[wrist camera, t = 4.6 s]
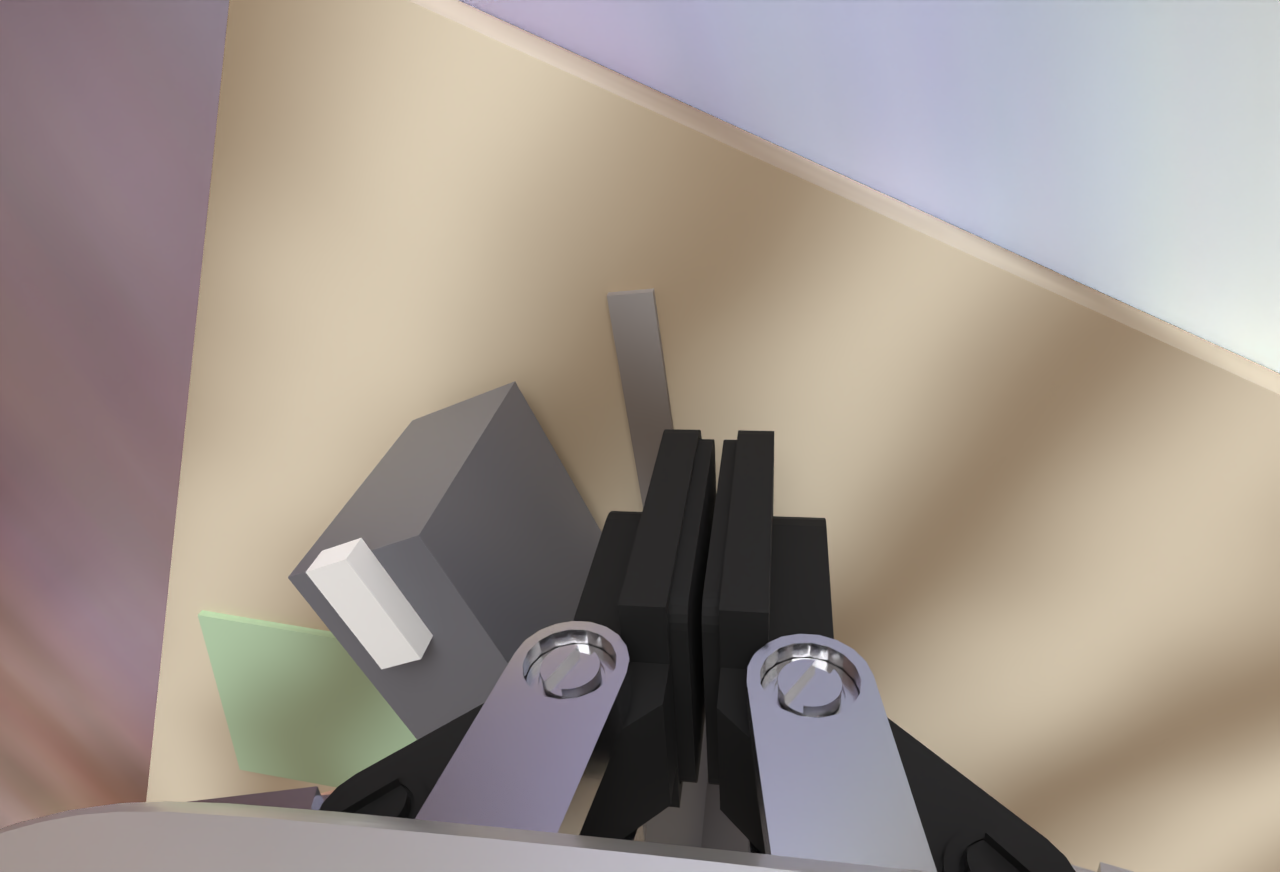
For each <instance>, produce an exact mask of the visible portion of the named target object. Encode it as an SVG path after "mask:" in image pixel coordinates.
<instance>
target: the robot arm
mask: <svg viewBox="0 0 1280 872" xmlns="http://www.w3.org/2000/svg"><path fill="white" fill-rule="evenodd" d="M773 503H774V431H747V430H738V436H737V440H724V441H723V448H722V456H721V463H720V471H719V478H718V486H717V493H716V464H715V441H714V439H702V436H701V431H700V430H681V429H665V430H664V432H663V435H662V439H661V443H660V447H659V450H658V454H657V458H656V462H655V466H654V469H653V473H652V477H651V481H650V485H649V488H648V492H647V496H646V500H645V503H644V507H643V511H642V512H631V511H611V512H609V514H608V516H607V518H606V521H605V524H604V527H603V530H602V533H601V536H600V540H599V543H598V546H597V549H596V552H595V555H594V558H593V561H592V564H591V567H590V570H589V573H588V576H587V580H586V583H585V586H584V589H583V592H582V595H581V598H580V601H579V604H578V607H577V610H576V613H575V617H574V620H573V621H570V622H564V623H558V624H554V625H552V626H549V627H547V628H544V629H542V630H539V631H538V632H536V633H535V634H533V635H532V636H530V637H529V638H528V639H526V640H525V641H524V642H523V643H522V645H521V646H520V647H519V648H518V649H517V650H516V652H515V653H514V655H513V656H512V658H511V660H510V661H509V663H508V665H507V666H506V668H505V670H504V671H503V673H502V675H501V676H500V678H499V680H498V681H497V683H496V685H495V686H494V688H493V690H492V691H491V693H490V695H489V696H488V698H487V700H486V701H485V703H483V704H481V705H479V706H477V707H476V708H474V709H472V710H470V711H468V712H467V713H465V714H463V715H461V716H459V717H458V718H456V719H454V720H452V721H450V722H449V723H447V724H445V725H443V726H441V727H440V728H438V729H436V730H434V731H432V732H431V733H429V734H427V735H425V736H423V737H422V738H420V739H418V740H416V741H414V742H413V743H411V744H409V745H407V746H405V747H403V748H402V749H400V750H398V751H396V752H394V753H393V754H391V755H389V756H387V757H385V758H384V759H382V760H380V761H378V762H376V763H375V764H373V765H371V766H369V767H367V768H366V769H364V770H362V771H360V772H358V773H357V774H355V775H354V776H352V777H351V778H349V779H348V780H346V781H345V782H344V783H342V784H341V785H339V786H338V787H337V788H336V789H335V790H334V791H333V792H332V793H331V794H329V795H321V794H320V791H319V789H318V786H314V787H306V788H297V789H289V790H281V791H272V792H264V793H255V794H247V795H239V796H230V797H222V798H214V799H205V800H197V801H188V802H172V801H163V802H138V803H119V804H111V805H104V806H97V807H90V808H82V809H75V810H68V811H64V812H60V813H56V814H52V815H48V816H44V817H40V818H36V819H32V820H28V821H23V822H19V823H16V824H13V825H10V826H7V827H4V828H1V829H0V872H1095V871H1092V870H1088V869H1085V868H1082V867H1078V866H1075V865H1072V864H1070V862H1069V861H1068V859H1067V858H1066V856H1065V855H1064V854H1063V853H1061V852H1060V851H1059V850H1058V849H1057V848H1056V847H1055V846H1054V845H1053V844H1052V843H1051V842H1050V841H1049V840H1048V839H1047V838H1045V837H1044V836H1043V835H1041V834H1040V833H1039V832H1038V831H1036V830H1035V829H1034V828H1032V827H1031V826H1030V825H1028V824H1027V823H1026V822H1024V821H1023V820H1022V819H1020V818H1019V817H1018V816H1016V815H1015V814H1014V813H1013V812H1011V811H1010V810H1009V809H1007V808H1006V807H1005V806H1003V805H1002V804H1001V803H999V802H998V801H997V800H995V799H994V798H993V797H991V796H990V795H989V794H988V793H986V792H985V791H984V790H982V789H981V788H980V787H978V786H977V785H976V784H974V783H973V782H972V781H970V780H969V779H968V778H967V777H965V776H964V775H963V774H961V773H960V772H959V771H957V770H956V769H955V768H953V767H952V766H951V765H949V764H948V763H947V762H945V761H944V760H943V759H942V758H940V757H939V756H938V755H936V754H935V753H934V752H932V751H931V750H930V749H928V748H927V747H926V746H924V745H923V744H922V743H920V742H919V741H918V740H917V739H915V738H914V737H913V736H911V735H910V734H909V733H907V732H906V731H905V730H903V729H902V728H901V727H899V726H898V725H897V724H896V723H894V722H893V721H892V720H890V719H889V718H888V717H887V715H886V712H885V709H884V706H883V703H882V700H881V697H880V693H879V690H878V687H877V684H876V681H875V678H874V675H873V673H872V671H871V670H870V668H869V666H868V664H867V662H866V661H865V660H864V659H863V658H862V657H861V656H860V655H859V654H858V653H857V652H856V651H855V650H854V649H852V648H850V647H849V646H847V645H845V644H843V643H841V642H840V641H838V640H835V639H834V632H833V617H832V602H831V587H830V572H829V557H828V542H827V526H826V519H825V518H813V517H783V516H773ZM705 719H706V742H707V766H708V783H709V784H716V785H719V792H720V810H721V811H722V812H723V813H724V814H725V815H726V816H727V817H728V819H729V820H730V821H731V822H732V823H733V824H734V825H735V826H736V827H737V828H738V829H739V830H740V831H741V832H742V833H743V834H744V835H745V836H746V837H747V839H748V852H739V851H729V850H719V849H710V848H700V847H690V846H680V845H671V844H661V843H651V842H645V840H646V833H647V824H646V822H648V821H649V820H651V819H652V818H653V817H655V816H656V815H658V814H659V813H660V812H662V811H663V810H665V809H666V808H668V807H677V808H680V801H681V793H682V786H683V782H692V783H697V782H698V776H699V768H700V759H701V750H702V741H703V732H704V723H705ZM1097 872H1134V871H1130V870H1127V869H1123V868H1120V867H1116V866H1113V865H1109V864H1106V863H1103V862H1100V864H1099V867H1098V870H1097Z"/></svg>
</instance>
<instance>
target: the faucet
mask: <svg viewBox="0 0 1280 872" xmlns="http://www.w3.org/2000/svg"><path fill="white" fill-rule="evenodd" d="M601 533H602V532H601V530H600V528H599V527H598V525H597V523H596V521H595V520H594V518H593V516H592V514H591V513H590V511H589V509H588V507H587V506H586V504H585V502H584V500H583V499H582V497H581V495H580V493H579V492H578V490H577V488H576V486H575V485H574V483H573V481H572V479H571V478H570V476H569V474H568V473H567V471H566V469H565V467H564V466H563V464H562V462H561V460H560V459H559V457H558V455H557V453H556V452H555V450H554V448H553V446H552V445H551V443H550V441H549V439H548V438H547V436H546V434H545V432H544V431H543V429H542V427H541V425H540V424H539V422H538V420H537V419H536V417H535V415H534V413H533V412H532V410H531V408H530V406H529V405H528V403H527V401H526V399H525V398H524V396H523V394H522V392H521V391H520V389H519V387H518V385H517V384H516V382H515V381H514V382H512V383H509V384H506V385H504V386H501V387H499V388H496V389H493V390H491V391H488V392H485V393H483V394H480V395H478V396H475V397H472V398H470V399H467V400H465V401H462V402H459V403H457V404H454V405H451V406H449V407H446V408H444V409H441V410H438V411H436V412H433V413H430V414H428V415H425V416H423V417H420V418H417V419H415V420H412V421H411V423H410V424H409V425H408V426H407V428H406V429H405V430H404V432H403V433H402V434H401V435H400V437H399V438H398V439H397V440H396V442H395V443H394V444H393V445H392V447H391V448H390V449H389V450H388V452H387V453H386V454H385V455H384V457H383V458H382V459H381V460H380V462H379V463H378V464H377V466H376V467H375V468H374V469H373V471H372V472H371V473H370V474H369V476H368V477H367V478H366V479H365V481H364V482H363V483H362V484H361V486H360V487H359V488H358V489H357V491H356V492H355V493H354V495H353V496H352V497H351V498H350V500H349V501H348V502H347V503H346V505H345V506H344V507H343V508H342V510H341V511H340V512H339V513H338V515H337V516H336V517H335V518H334V520H333V521H332V522H331V524H330V525H329V526H328V527H327V529H326V530H325V531H324V532H323V534H322V535H321V536H320V537H319V539H318V540H317V541H316V542H315V544H314V545H313V546H312V547H311V549H310V550H309V551H308V553H307V554H306V555H305V556H304V558H303V559H302V560H301V561H300V563H299V564H298V565H297V566H296V568H295V569H294V570H293V571H292V573H291V574H290V575H289V576H288V579H289V580H290V581H291V582H292V584H293V585H294V586H295V587H296V589H297V590H298V591H299V592H300V594H301V595H302V596H303V597H304V599H305V600H306V601H307V602H308V604H309V605H310V606H311V607H312V609H313V610H314V611H315V612H316V614H317V615H318V616H319V617H320V619H321V620H322V621H323V622H324V624H325V625H326V626H327V627H328V629H329V630H330V631H331V632H332V634H333V635H334V636H335V638H336V639H337V640H338V641H339V643H340V644H341V645H342V646H343V648H344V649H345V650H346V651H347V653H348V654H349V655H350V656H351V658H352V659H353V660H354V661H355V663H356V664H357V665H358V666H359V668H360V669H361V670H362V671H363V673H364V674H365V675H366V676H367V678H368V679H369V680H370V681H371V683H372V684H373V685H374V686H375V688H376V689H377V690H378V691H379V693H380V694H381V695H382V696H383V698H384V699H385V700H386V701H387V703H388V704H389V705H390V706H391V708H392V709H393V710H394V711H395V713H396V714H397V715H398V716H399V718H400V719H401V720H402V721H403V723H404V724H405V725H406V726H407V728H408V729H409V730H410V731H411V733H412V734H413V735H414V736H415V738H416V739H417V740H418V739H420V738H422V737H423V736H425V735H427V734H429V733H431V732H432V731H434V730H436V729H438V728H440V727H441V726H443V725H445V724H447V723H449V722H450V721H452V720H454V719H456V718H458V717H459V716H461V715H463V714H465V713H467V712H468V711H470V710H472V709H474V708H476V707H477V706H479V705H481V704H483V703H485V701H486V700H487V698H488V696H489V695H490V693H491V691H492V690H493V688H494V686H495V685H496V683H497V681H498V680H499V678H500V676H501V675H502V673H503V671H504V670H505V668H506V666H507V665H508V663H509V661H510V660H511V658H512V656H513V655H514V653H515V652H516V650H517V649H518V648H519V647H520V646H521V645H522V643H523V642H524V641H525V640H526V639H528V638H529V637H530V636H532V635H533V634H535V633H536V632H538V631H539V630H542V629H544V628H547V627H549V626H552V625H554V624H558V623H564V622H570V621H573V620H574V617H575V613H576V610H577V607H578V604H579V601H580V598H581V595H582V592H583V589H584V586H585V583H586V580H587V576H588V573H589V570H590V567H591V564H592V561H593V558H594V555H595V552H596V549H597V546H598V543H599V540H600V536H601ZM646 824H647V833H646V840H645V842H651V843H661V844H671V845H680V846H690V847H700V848H710V849H719V850H729V851H739V852H748V839H747V837H746V836H745V835H744V834H743V833H742V832H741V831H740V830H739V829H738V828H737V827H736V826H735V825H734V824H733V823H732V822H731V821H730V820H729V819H728V817H727V816H726V815H725V814H724V813H723V812H722V811H721V810H720V792H719V785H716V784H709V783H708V766H707V742H706V719H705V723H704V732H703V741H702V750H701V759H700V768H699V776H698V782H697V783H692V782H683V786H682V793H681V801H680V808H677V807H668V808H666V809H665V810H663V811H662V812H660V813H659V814H658V815H656V816H655V817H653V818H652V819H651V820H649V821H648V822H646Z"/></svg>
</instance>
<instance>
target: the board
mask: <svg viewBox="0 0 1280 872" xmlns="http://www.w3.org/2000/svg"><path fill="white" fill-rule="evenodd" d="M514 381H515V382H516V384H517V385H518V387H519V389H520V391H521V392H522V394H523V396H524V398H525V399H526V401H527V403H528V405H529V406H530V408H531V410H532V412H533V413H534V415H535V417H536V419H537V420H538V422H539V424H540V425H541V427H542V429H543V431H544V432H545V434H546V436H547V438H548V439H549V441H550V443H551V445H552V446H553V448H554V450H555V452H556V453H557V455H558V457H559V459H560V460H561V462H562V464H563V466H564V467H565V469H566V471H567V473H568V474H569V476H570V478H571V479H572V481H573V483H574V485H575V486H576V488H577V490H578V492H579V493H580V495H581V497H582V499H583V500H584V502H585V504H586V506H587V507H588V509H589V511H590V513H591V514H592V516H593V518H594V520H595V521H596V523H597V525H598V527H599V528H600V530H601V532H602V530H603V527H604V524H605V521H606V518H607V516H608V514H609V512H611V511H631V512H642V511H643V507H644V503H645V500H646V496H647V492H648V488H649V485H650V481H651V477H652V473H653V469H654V466H655V462H656V458H657V454H658V450H659V447H660V443H661V439H662V435H663V432H664V430H665V429H681V430H700V431H701V436H702V439H714V441H715V464H716V493H717V486H718V478H719V471H720V463H721V456H722V448H723V441H724V440H737V436H738V430H747V431H774V503H773V516H783V517H813V518H825V519H826V526H827V542H828V557H829V572H830V587H831V602H832V617H833V632H834V639H835V640H838V641H840V642H841V643H843V644H845V645H847V646H849V647H850V648H852V649H854V650H855V651H856V652H857V653H858V654H859V655H860V656H861V657H862V658H863V659H864V660H865V661H866V662H867V664H868V666H869V668H870V670H871V671H872V673H873V675H874V678H875V681H876V684H877V687H878V690H879V693H880V697H881V700H882V703H883V706H884V709H885V712H886V715H887V717H888V718H889V719H890V720H892V721H893V722H894V723H896V724H897V725H898V726H899V727H901V728H902V729H903V730H905V731H906V732H907V733H909V734H910V735H911V736H913V737H914V738H915V739H917V740H918V741H919V742H920V743H922V744H923V745H924V746H926V747H927V748H928V749H930V750H931V751H932V752H934V753H935V754H936V755H938V756H939V757H940V758H942V759H943V760H944V761H945V762H947V763H948V764H949V765H951V766H952V767H953V768H955V769H956V770H957V771H959V772H960V773H961V774H963V775H964V776H965V777H967V778H968V779H969V780H970V781H972V782H973V783H974V784H976V785H977V786H978V787H980V788H981V789H982V790H984V791H985V792H986V793H988V794H989V795H990V796H991V797H993V798H994V799H995V800H997V801H998V802H999V803H1001V804H1002V805H1003V806H1005V807H1006V808H1007V809H1009V810H1010V811H1011V812H1013V813H1014V814H1015V815H1016V816H1018V817H1019V818H1020V819H1022V820H1023V821H1024V822H1026V823H1027V824H1028V825H1030V826H1031V827H1032V828H1034V829H1035V830H1036V831H1038V832H1039V833H1040V834H1041V835H1043V836H1044V837H1045V838H1047V839H1048V840H1049V841H1050V842H1051V843H1052V844H1053V845H1054V846H1055V847H1056V848H1057V849H1058V850H1059V851H1060V852H1061V853H1063V854H1064V855H1065V856H1066V858H1067V859H1068V861H1069V862H1070V864H1072V865H1075V866H1078V867H1082V868H1085V869H1088V870H1092V871H1095V872H1097V870H1098V867H1099V864H1100V862H1103V863H1106V864H1109V865H1113V866H1116V867H1120V868H1123V869H1127V870H1130V871H1134V872H1280V374H1279V373H1277V372H1275V371H1273V370H1270V369H1268V368H1266V367H1264V366H1262V365H1259V364H1257V363H1255V362H1253V361H1251V360H1248V359H1246V358H1244V357H1242V356H1240V355H1237V354H1235V353H1233V352H1231V351H1229V350H1226V349H1224V348H1222V347H1220V346H1218V345H1215V344H1213V343H1211V342H1209V341H1207V340H1204V339H1202V338H1200V337H1198V336H1196V335H1193V334H1191V333H1189V332H1187V331H1185V330H1182V329H1180V328H1178V327H1176V326H1174V325H1171V324H1169V323H1167V322H1165V321H1163V320H1160V319H1158V318H1156V317H1154V316H1152V315H1149V314H1147V313H1145V312H1143V311H1141V310H1138V309H1136V308H1134V307H1132V306H1130V305H1127V304H1125V303H1123V302H1121V301H1119V300H1116V299H1114V298H1112V297H1110V296H1108V295H1105V294H1103V293H1101V292H1099V291H1097V290H1094V289H1092V288H1090V287H1088V286H1086V285H1083V284H1081V283H1079V282H1077V281H1075V280H1072V279H1070V278H1068V277H1066V276H1064V275H1061V274H1059V273H1057V272H1055V271H1053V270H1050V269H1048V268H1046V267H1044V266H1042V265H1039V264H1037V263H1035V262H1033V261H1031V260H1028V259H1026V258H1024V257H1022V256H1020V255H1017V254H1015V253H1013V252H1011V251H1009V250H1006V249H1004V248H1002V247H1000V246H998V245H995V244H993V243H991V242H989V241H987V240H984V239H982V238H980V237H978V236H976V235H973V234H971V233H969V232H967V231H965V230H962V229H960V228H958V227H956V226H954V225H951V224H949V223H947V222H945V221H943V220H940V219H938V218H936V217H934V216H932V215H929V214H927V213H925V212H923V211H921V210H918V209H916V208H914V207H912V206H910V205H907V204H905V203H903V202H901V201H899V200H896V199H894V198H892V197H890V196H888V195H885V194H883V193H881V192H879V191H877V190H874V189H872V188H870V187H868V186H866V185H863V184H861V183H859V182H857V181H855V180H852V179H850V178H848V177H846V176H844V175H841V174H839V173H837V172H835V171H833V170H830V169H828V168H826V167H824V166H822V165H819V164H817V163H815V162H813V161H811V160H808V159H806V158H804V157H802V156H800V155H797V154H795V153H793V152H791V151H789V150H786V149H784V148H782V147H780V146H778V145H775V144H773V143H771V142H769V141H767V140H764V139H762V138H760V137H758V136H756V135H753V134H751V133H749V132H747V131H745V130H742V129H740V128H738V127H736V126H734V125H731V124H729V123H727V122H725V121H723V120H720V119H718V118H716V117H714V116H712V115H709V114H707V113H705V112H703V111H701V110H698V109H696V108H694V107H692V106H690V105H687V104H685V103H683V102H681V101H679V100H676V99H674V98H672V97H670V96H668V95H665V94H663V93H661V92H659V91H657V90H654V89H652V88H650V87H648V86H646V85H643V84H641V83H639V82H637V81H635V80H632V79H630V78H628V77H626V76H624V75H621V74H619V73H617V72H615V71H613V70H610V69H608V68H606V67H604V66H602V65H599V64H597V63H595V62H593V61H591V60H588V59H586V58H584V57H582V56H580V55H577V54H575V53H573V52H571V51H569V50H566V49H564V48H562V47H560V46H558V45H555V44H553V43H551V42H549V41H547V40H544V39H542V38H540V37H538V36H536V35H533V34H531V33H529V32H527V31H525V30H522V29H520V28H518V27H516V26H514V25H511V24H509V23H507V22H505V21H503V20H500V19H498V18H496V17H494V16H492V15H489V14H487V13H485V12H483V11H481V10H478V9H476V8H474V7H472V6H470V5H467V4H465V3H463V2H461V1H459V0H229V10H228V19H227V29H226V39H225V48H224V58H223V68H222V77H221V87H220V96H219V106H218V116H217V125H216V135H215V145H214V154H213V164H212V174H211V183H210V193H209V203H208V212H207V222H206V231H205V241H204V251H203V260H202V270H201V280H200V289H199V299H198V309H197V318H196V328H195V338H194V347H193V357H192V367H191V376H190V386H189V395H188V405H187V415H186V424H185V434H184V444H183V453H182V463H181V473H180V482H179V492H178V502H177V511H176V521H175V531H174V540H173V550H172V559H171V569H170V579H169V588H168V598H167V608H166V617H165V627H164V637H163V646H162V656H161V666H160V675H159V685H158V694H157V704H156V714H155V723H154V733H153V743H152V752H151V762H150V772H149V781H148V791H147V801H146V802H163V801H172V802H188V801H197V800H205V799H214V798H222V797H230V796H239V795H247V794H255V793H264V792H272V791H281V790H289V789H297V788H306V787H314V786H318V789H319V791H320V794H321V795H329V794H331V793H332V792H333V791H334V790H335V789H336V788H337V787H338V786H339V785H341V784H342V783H344V782H345V781H346V780H348V779H349V778H351V777H352V776H354V775H355V774H357V773H358V772H360V771H362V770H364V769H366V768H367V767H369V766H371V765H373V764H375V763H376V762H378V761H380V760H382V759H384V758H385V757H387V756H389V755H391V754H393V753H394V752H396V751H398V750H400V749H402V748H403V747H405V746H407V745H409V744H411V743H413V742H414V741H416V740H417V739H416V738H415V736H414V735H413V734H412V733H411V731H410V730H409V729H408V728H407V726H406V725H405V724H404V723H403V721H402V720H401V719H400V718H399V716H398V715H397V714H396V713H395V711H394V710H393V709H392V708H391V706H390V705H389V704H388V703H387V701H386V700H385V699H384V698H383V696H382V695H381V694H380V693H379V691H378V690H377V689H376V688H375V686H374V685H373V684H372V683H371V681H370V680H369V679H368V678H367V676H366V675H365V674H364V673H363V671H362V670H361V669H360V668H359V666H358V665H357V664H356V663H355V661H354V660H353V659H352V658H351V656H350V655H349V654H348V653H347V651H346V650H345V649H344V648H343V646H342V645H341V644H340V643H339V641H338V640H337V639H336V638H335V636H334V635H333V634H332V632H331V631H330V630H329V629H328V627H327V626H326V625H325V624H324V622H323V621H322V620H321V619H320V617H319V616H318V615H317V614H316V612H315V611H314V610H313V609H312V607H311V606H310V605H309V604H308V602H307V601H306V600H305V599H304V597H303V596H302V595H301V594H300V592H299V591H298V590H297V589H296V587H295V586H294V585H293V584H292V582H291V581H290V580H289V579H288V576H289V575H290V574H291V573H292V571H293V570H294V569H295V568H296V566H297V565H298V564H299V563H300V561H301V560H302V559H303V558H304V556H305V555H306V554H307V553H308V551H309V550H310V549H311V547H312V546H313V545H314V544H315V542H316V541H317V540H318V539H319V537H320V536H321V535H322V534H323V532H324V531H325V530H326V529H327V527H328V526H329V525H330V524H331V522H332V521H333V520H334V518H335V517H336V516H337V515H338V513H339V512H340V511H341V510H342V508H343V507H344V506H345V505H346V503H347V502H348V501H349V500H350V498H351V497H352V496H353V495H354V493H355V492H356V491H357V489H358V488H359V487H360V486H361V484H362V483H363V482H364V481H365V479H366V478H367V477H368V476H369V474H370V473H371V472H372V471H373V469H374V468H375V467H376V466H377V464H378V463H379V462H380V460H381V459H382V458H383V457H384V455H385V454H386V453H387V452H388V450H389V449H390V448H391V447H392V445H393V444H394V443H395V442H396V440H397V439H398V438H399V437H400V435H401V434H402V433H403V432H404V430H405V429H406V428H407V426H408V425H409V424H410V423H411V421H412V420H415V419H417V418H420V417H423V416H425V415H428V414H430V413H433V412H436V411H438V410H441V409H444V408H446V407H449V406H451V405H454V404H457V403H459V402H462V401H465V400H467V399H470V398H472V397H475V396H478V395H480V394H483V393H485V392H488V391H491V390H493V389H496V388H499V387H501V386H504V385H506V384H509V383H512V382H514Z"/></svg>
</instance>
